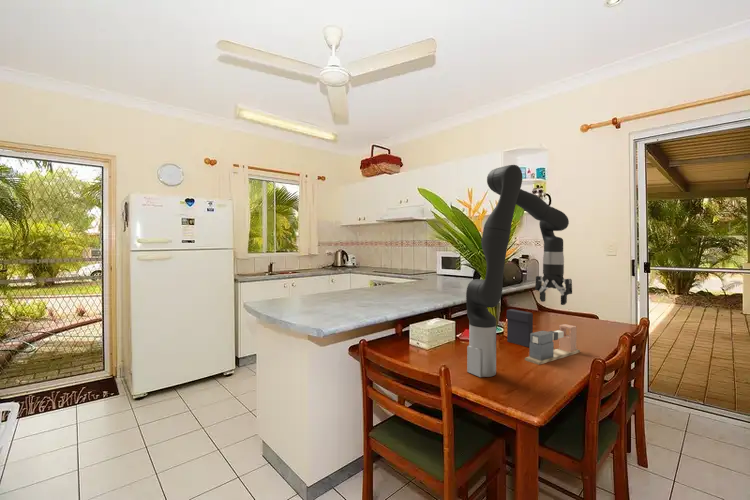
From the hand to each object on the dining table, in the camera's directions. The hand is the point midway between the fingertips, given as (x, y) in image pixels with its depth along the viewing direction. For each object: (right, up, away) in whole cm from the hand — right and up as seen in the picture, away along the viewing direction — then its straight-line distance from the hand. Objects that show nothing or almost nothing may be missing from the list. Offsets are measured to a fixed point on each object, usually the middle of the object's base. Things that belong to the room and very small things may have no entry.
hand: (552, 303), depth 142 cm
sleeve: (-6, -22, -3) cm, 23 cm away
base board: (+1, -22, +1) cm, 22 cm away
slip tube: (-2, -15, -1) cm, 15 cm away
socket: (+9, -22, +6) cm, 24 cm away
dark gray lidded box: (-6, -22, +18) cm, 29 cm away
